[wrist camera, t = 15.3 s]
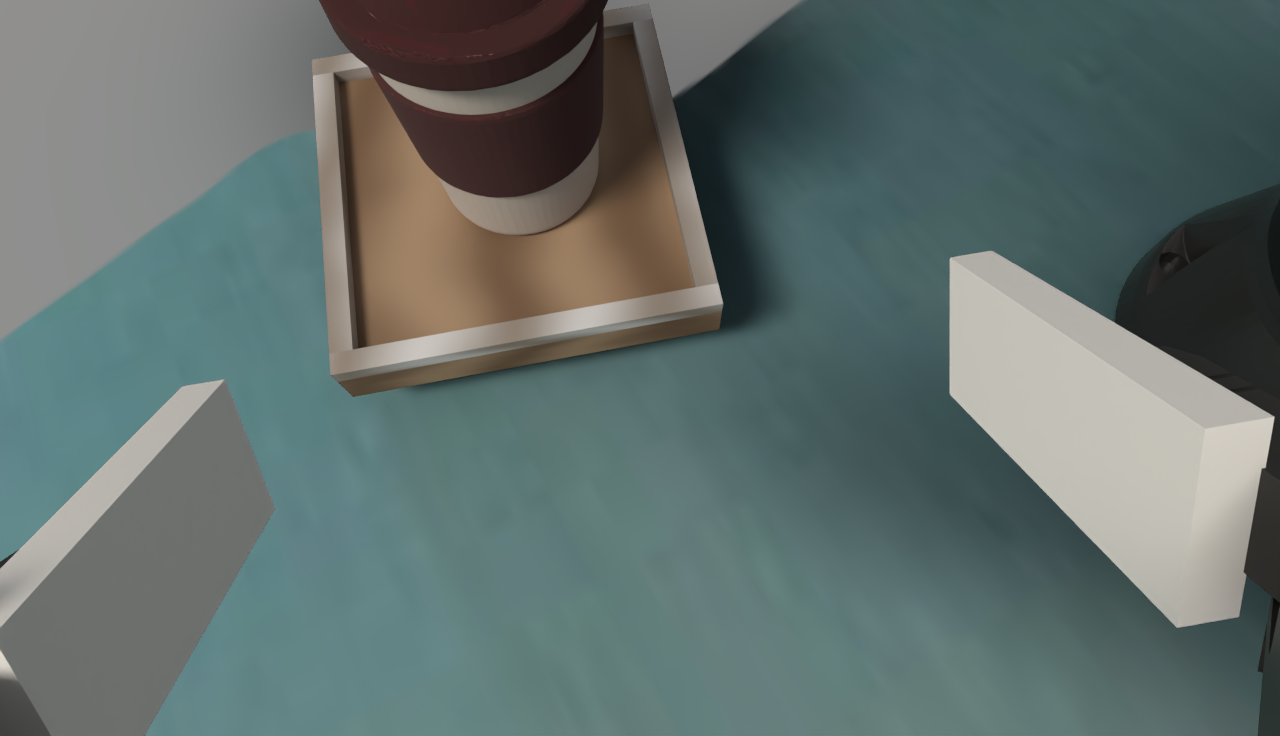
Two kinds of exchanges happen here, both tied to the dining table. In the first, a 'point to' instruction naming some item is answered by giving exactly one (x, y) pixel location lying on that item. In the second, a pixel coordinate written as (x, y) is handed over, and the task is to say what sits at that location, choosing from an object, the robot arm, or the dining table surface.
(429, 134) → the coffee cup
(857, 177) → the dining table surface
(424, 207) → the shallow square tray
